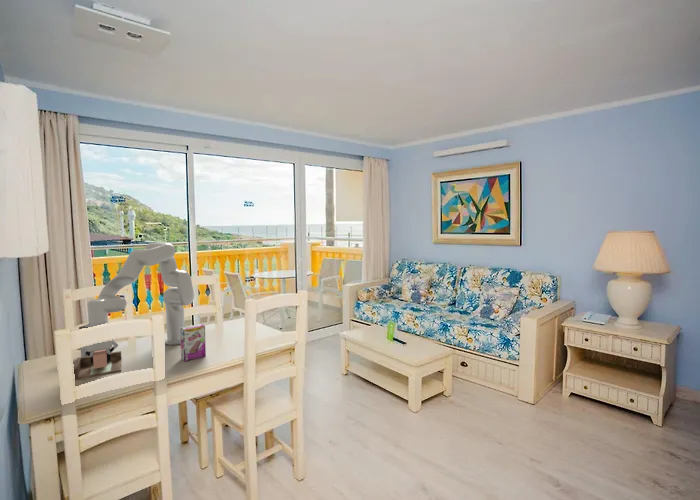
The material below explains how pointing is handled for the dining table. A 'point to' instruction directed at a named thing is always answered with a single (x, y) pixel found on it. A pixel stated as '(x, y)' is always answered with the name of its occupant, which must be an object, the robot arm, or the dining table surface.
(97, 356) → the bar
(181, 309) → the robot arm
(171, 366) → the dining table surface
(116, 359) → the tray
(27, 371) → the dining table surface
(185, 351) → the candy bar box
